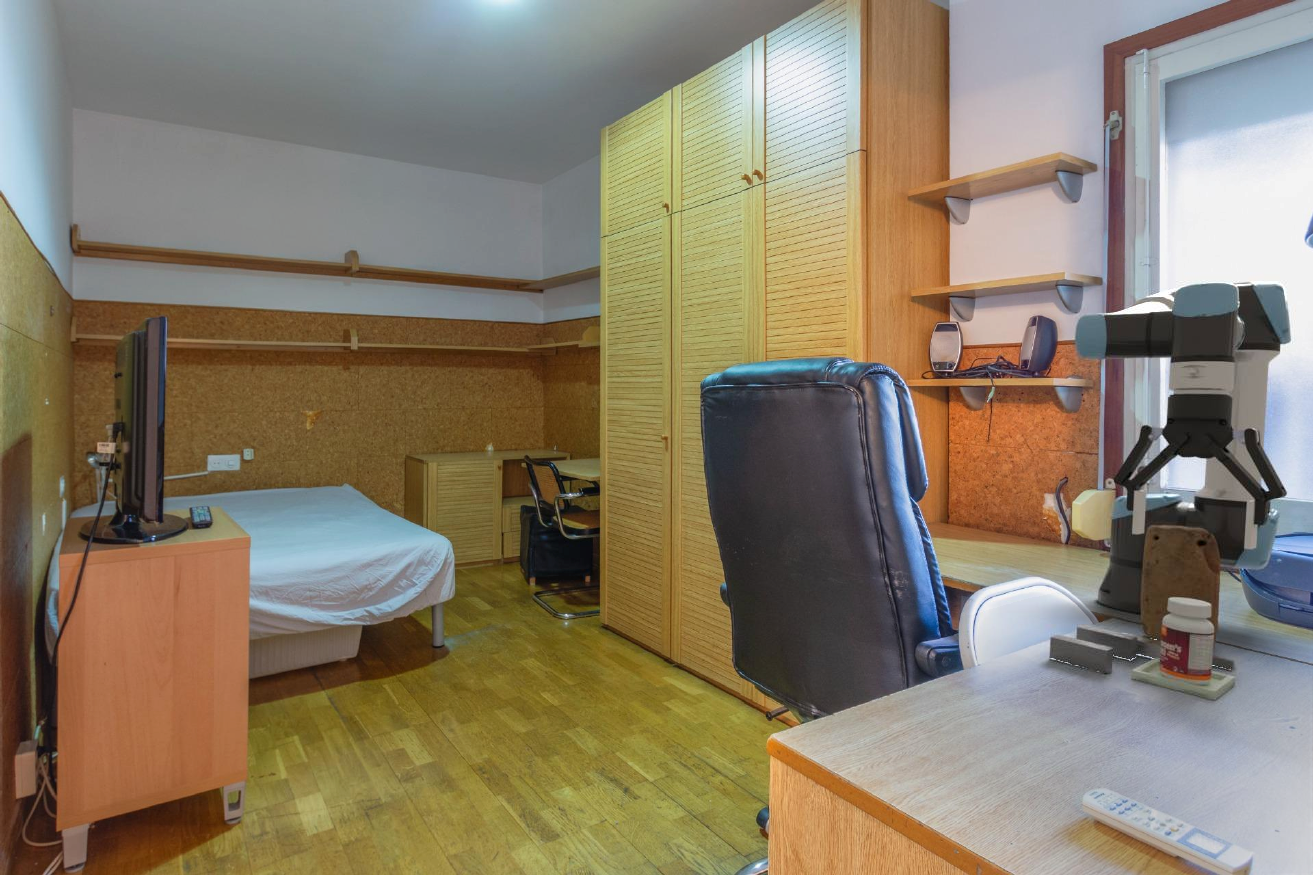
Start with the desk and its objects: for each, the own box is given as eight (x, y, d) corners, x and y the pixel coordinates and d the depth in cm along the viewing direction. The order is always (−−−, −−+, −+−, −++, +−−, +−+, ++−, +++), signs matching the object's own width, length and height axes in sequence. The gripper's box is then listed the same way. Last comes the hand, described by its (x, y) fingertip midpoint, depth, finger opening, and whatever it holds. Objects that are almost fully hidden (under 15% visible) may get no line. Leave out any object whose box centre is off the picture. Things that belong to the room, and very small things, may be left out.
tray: (1155, 665, 116) (1155, 657, 115) (1234, 684, 108) (1235, 676, 108) (1131, 678, 109) (1131, 670, 109) (1214, 700, 101) (1214, 691, 101)
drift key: (1121, 646, 125) (1122, 630, 125) (1185, 661, 118) (1186, 644, 118) (1114, 650, 122) (1115, 633, 122) (1178, 666, 116) (1179, 648, 115)
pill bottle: (1149, 671, 111) (1153, 595, 111) (1187, 671, 112) (1191, 596, 111) (1181, 686, 105) (1186, 606, 105) (1222, 686, 106) (1226, 606, 105)
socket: (1082, 645, 125) (1083, 624, 125) (1136, 658, 119) (1137, 636, 119) (1049, 659, 117) (1050, 637, 117) (1105, 674, 111) (1106, 650, 111)
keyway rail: (1125, 643, 126) (1125, 635, 126) (1234, 669, 115) (1234, 659, 115) (1122, 645, 126) (1123, 636, 126) (1232, 670, 114) (1232, 661, 114)
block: (1134, 637, 130) (1141, 523, 130) (1149, 630, 135) (1155, 520, 134) (1209, 654, 122) (1217, 533, 121) (1222, 646, 127) (1229, 529, 126)
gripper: (1094, 392, 114) (1087, 529, 115) (1308, 392, 95) (1297, 557, 96) (1113, 393, 119) (1106, 526, 120) (1320, 394, 100) (1310, 552, 101)
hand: (1191, 540), depth 108 cm, fingers open, 13 cm apart
